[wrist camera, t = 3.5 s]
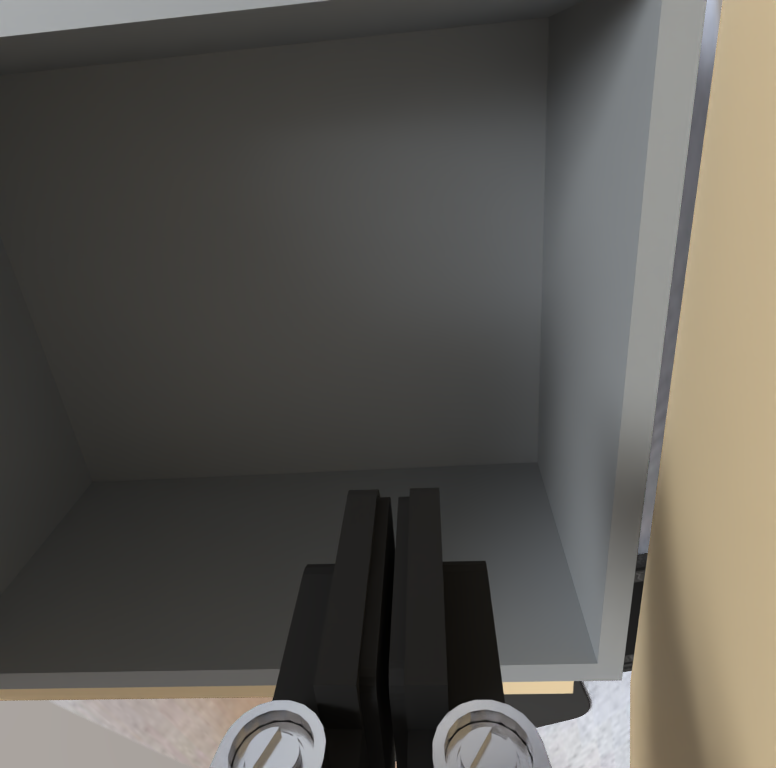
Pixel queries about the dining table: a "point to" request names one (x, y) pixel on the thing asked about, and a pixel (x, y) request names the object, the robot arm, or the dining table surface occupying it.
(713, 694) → the carton flap
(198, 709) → the dining table surface
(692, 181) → the dining table surface
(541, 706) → the phone
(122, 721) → the dining table surface
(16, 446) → the carton
